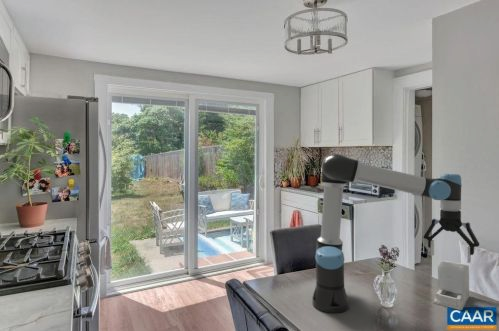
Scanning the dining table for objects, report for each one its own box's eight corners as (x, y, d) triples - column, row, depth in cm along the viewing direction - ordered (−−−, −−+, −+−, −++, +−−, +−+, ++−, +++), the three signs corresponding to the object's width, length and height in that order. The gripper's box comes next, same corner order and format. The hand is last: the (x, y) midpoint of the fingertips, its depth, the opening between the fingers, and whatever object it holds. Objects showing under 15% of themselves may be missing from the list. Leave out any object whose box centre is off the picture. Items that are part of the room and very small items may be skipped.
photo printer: (436, 288, 136) (436, 260, 136) (440, 286, 139) (439, 258, 139) (463, 296, 128) (463, 266, 128) (467, 293, 131) (466, 264, 131)
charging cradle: (433, 303, 131) (433, 270, 131) (443, 289, 144) (443, 260, 144) (461, 310, 124) (461, 276, 124) (469, 296, 137) (469, 264, 137)
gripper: (487, 211, 127) (487, 262, 127) (421, 205, 144) (420, 250, 145) (485, 214, 122) (484, 267, 122) (416, 207, 139) (415, 254, 139)
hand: (450, 258), depth 133 cm, fingers open, 13 cm apart
